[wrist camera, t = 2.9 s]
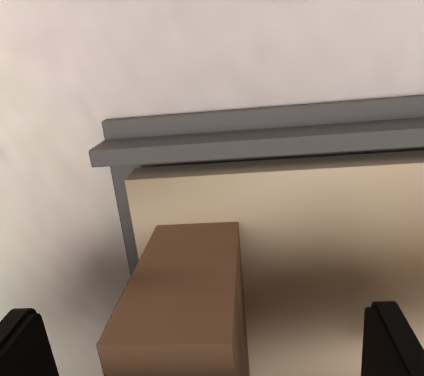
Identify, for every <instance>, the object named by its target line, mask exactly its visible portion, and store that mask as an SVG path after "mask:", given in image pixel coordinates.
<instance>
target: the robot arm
mask: <svg viewBox="0 0 424 376" xmlns="http://www.w3.org/2000/svg"><path fill="white" fill-rule="evenodd" d="M0 376H59V374H58V371H57V367H56V364H55V360H54V357H53V354H52V350H51V347H50V344H49V340H48V337H47V333H46V330H45V327H44V323H43V320H42V317H41V315H40V314H39V313H37V312H36V311H35V310H34V309H32V308H23V309H12V310H11V311H10V312H9V313H8V314H7V315H6V316H5V317H4V318H3V319H2V321H1V322H0ZM361 376H424V349H423V347H422V346H421V344H420V342H419V340H418V339H417V337H416V335H415V333H414V332H413V330H412V328H411V326H410V325H409V323H408V321H407V319H406V318H405V316H404V314H403V312H402V311H401V309H400V307H399V306H398V304H397V303H396V302H395V301H374V302H372V304H371V307H366V308H365V311H364V328H363V346H362V363H361Z"/></svg>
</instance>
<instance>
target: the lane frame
mask: <svg viewBox="0 0 424 376" xmlns="http://www.w3.org/2000/svg"><path fill="white" fill-rule="evenodd" d="M102 127H103V132H104V137H105V140H104V141H103V142H101V143H100V144H98V145H97V146H95V147H94V148H92V149H91V150H89V156H90V161H91V165H92V167H105V166H110V169H111V174H112V179H113V185H114V190H115V195H116V200H117V206H118V211H119V216H120V221H121V227H122V232H123V237H124V242H125V248H126V253H127V258H128V263H129V269H130V274H131V275H132V273H133V271H134V269H135V267H136V265H137V263H138V261H139V258H138V253H137V247H136V242H135V236H134V230H133V225H132V219H131V214H130V208H129V202H128V197H127V191H126V186H125V179H126V178H127V177H128V176H129V175H130V174H131V173H132V171H133V170H134V169H135V168H143V167H159V166H175V165H191V164H208V163H224V162H240V161H256V160H272V159H288V158H304V157H320V156H337V155H353V154H369V153H385V152H401V151H417V150H424V95H415V96H403V97H390V98H377V99H364V100H351V101H338V102H325V103H312V104H299V105H286V106H273V107H260V108H247V109H235V110H222V111H209V112H196V113H183V114H170V115H157V116H144V117H131V118H118V119H106V120H104V121H102Z"/></svg>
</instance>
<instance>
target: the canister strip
mask: <svg viewBox="0 0 424 376" xmlns="http://www.w3.org/2000/svg"><path fill="white" fill-rule="evenodd" d="M125 186H126V191H127V197H128V202H129V208H130V214H131V219H132V225H133V230H134V236H135V242H136V247H137V253H138V258H139V261H138V263H137V265H136V267H135V269H134V271H133V273H132V275H131V277H130V279H129V281H128V283H127V285H126V287H125V289H124V291H123V293H122V295H121V297H120V299H119V301H118V303H117V305H116V307H115V309H114V311H113V313H112V315H111V317H110V319H109V321H108V323H107V325H106V327H105V329H104V331H103V333H102V335H101V337H100V339H99V341H98V343H97V349H98V354H99V358H100V362H101V366H102V370H103V374H104V376H361V363H362V346H363V328H364V311H365V308H366V307H371V304H372V302H374V301H395V302H396V303H397V304H398V306H399V307H400V309H401V311H402V312H403V314H404V316H405V318H406V319H407V321H408V323H409V325H410V326H411V328H412V330H413V332H414V333H415V335H416V337H417V339H418V340H419V342H420V344H421V346H422V347H423V349H424V150H417V151H401V152H385V153H369V154H353V155H337V156H320V157H304V158H288V159H272V160H256V161H240V162H224V163H208V164H191V165H175V166H159V167H143V168H135V169H134V170H133V171H132V173H131V174H130V175H129V176H128V177H127V178H126V179H125Z"/></svg>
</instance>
